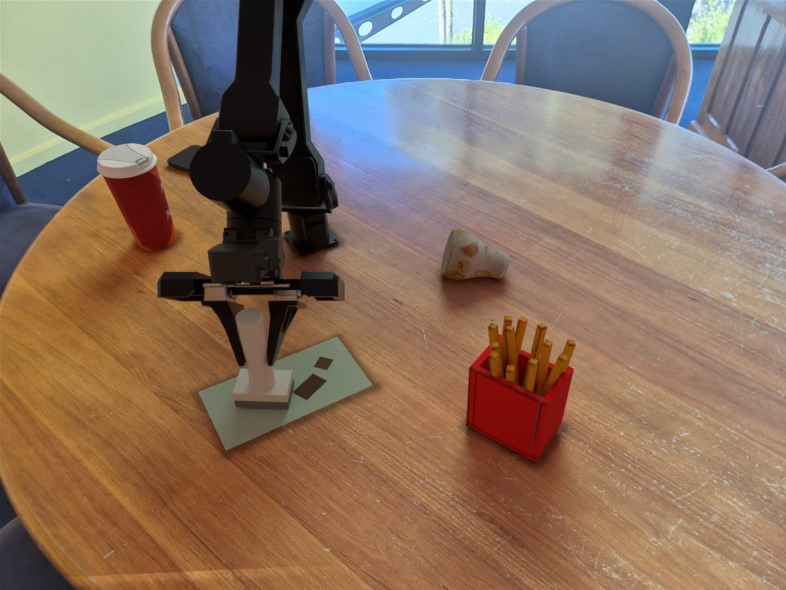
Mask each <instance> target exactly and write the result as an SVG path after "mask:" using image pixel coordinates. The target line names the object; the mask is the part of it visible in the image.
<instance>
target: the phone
mask: <svg viewBox="0 0 786 590" xmlns="http://www.w3.org/2000/svg"><path fill="white" fill-rule="evenodd" d="M202 146H203V145H199V144H191V145H189V146H187V147H185V148H184V149H182V150H180V151H179V152H177V153H175V154H174V155H172V156H170V157H168V159H167V160H166V163H167V165H168V166H170V167H172V168H175V169H178V170H182V171H184V172H187V173H189V165H190V163H191V162H192V159H193V157H194V155H195V154H196V152H197V151H198V150H199V149H200V148H201V147H202Z"/></svg>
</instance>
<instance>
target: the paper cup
mask: <svg viewBox="0 0 786 590" xmlns="http://www.w3.org/2000/svg"><path fill="white" fill-rule="evenodd" d="M96 162H97V165H96V171H97V172H98V174H100V175H101V176H102V177H103V179H104V182H105V184H106V185H107V187H108V189H109V192H110V193H111V195H112V197H113V199H114V201H115V203H116V205H117V207H118V209H119V212H120V213H121V215H122V217H123V219H124V221H125V222H126V225H127V226H128V228H129V230H130V232H131V235H132V236H133V238H134V240H135V242H136V243H137V245H138V246H139V248H140V249H142V250H144V251H145V250H146V251H151V252H152V251H160V250H163V249H166V248H168V247H170V246H172V245H173V244H175V242H176V240H177V238H178V237H177V232H176V228H175V224H174V221H173V217H172V214H171V209H170V207H169V203H168V200H167V196H166V193H165V189H164V186H163V182H162V179H161V175H160V172H159V169H158V165H157V163H158V157H157V156H156V154H155V153H153V152H152V150H151V149H150V148H149V147H148V146H147V145H144V144H140V143H134V142H133V143H132V142H131V143H123V144H118V145H117V144H116V145H114V146H111V147H109V148H107V149H105V150H102V152H100V154H99V155H98V157H97V160H96Z"/></svg>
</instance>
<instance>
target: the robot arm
mask: <svg viewBox="0 0 786 590" xmlns="http://www.w3.org/2000/svg"><path fill="white" fill-rule="evenodd" d="M313 1H314V0H238V14H237V16H238V17H237V35H236V51H235V52H236V53H235V71H234V79H233V81H232V82H231V83H230V84H229V85H228V86H227V88H226V89H225V90H224V92H223V93H222V94H221V96H220V101H219V109H218V116H217V117H216V118H215V120H214V122H213V125H212V126H211V130H210V133H209V135H208V137H207V139H206V141H205V144H203V145H201V146H202V147H201V148H200V149H199V150H198V151H197V152H196V154H195V155H194V157H193V159H192V162H191V163H190V165H189V172H188V174H189V179H190V181H191V184H192V186H193V187H194V189H195V190H196V191H197V192H198V193H199V194H200V195H201V196H202V197H204V198H205V199H207V200H209V201H210V202H212V203H213V204H215V205H216V206H218V207H220V208H222V209H224V210H225V211H226V227H223V232H222V241H221V243H218V244H216V245H214V246H212V247H211V248H209V249H207V251H206V252H207V259H208V266H209V274H210V275H208V274H205V273H202V272H199V271H163V272H162V273H161V275H160V276H159V278H158V280H157V285H156V287H157V295H156V296H157V299H158V298H159V299H163V300H168V301H175V302H183V303H184V302H187V303H188V302H189V303H191V302H193V303H194V302H200V304H201V306H202V307H205V308H208V309H209V308H210V309H211V310H212V311H213V312H214V314H215V315H216V316H217V318H218V319H219V321H220V324H221V325H222V327H223V329H224V331H225V334H226V336H227V339H228V341H229V344H230V347H231V349H232V353H233V354H234V358H235V360H236V363H237V365H238V367H240V368H242V367H245V366H246V362H245V358H244V353H243V349H242V344H241V340H240V335H239V331H238V326H237V322H236V315H237V314H238V312H240V311H241V310H243V309H245V304H242V303H239V302H237V299H238V297H239V296H273V297H274V298H275V300H267V303H268V311H269V324H268V334H267V335H268V348H267V359H268V366H274V363H275V361H277V358H278V355H279V353H280V350H281V348H282V346H283V345H282V344H283V342H284V339H285V337H286V334H287V332H288V329H290V325H291V324H292V322H293V320H294V318H295V316H296V314H297V313H298V311H299V310H305V309H307V303H305V298H306V297H308V298H314V300H316V301H317V302H344V301H346V295H345V294H346V293H345V292H346V291H345V288H346V287H345V286H346V285H345V280H343V278H342V277H341V276H340V275H338V274H337V273H336V272H334V271H301V273H300V278H284V277H285V276H284V272H283V268H284V267H285V266H286V254H285V253H286V252H285V247H284V237H285V238H286V240H287V241H288V243H289V244H290V245H291V246H292V248H293V249H294V250H295V252H296V253H297V254H298V255H299V256H304V255H308V254H311V253H314V252H318V251H320V250H323V249H326V248H329V247H333V246H336V245H337V244H339V243H340V241H339V240H340V239H339V238H338V237H337V236H336V235H335V234H334V233H333V231H332V230H331V229H330V227H329V219H328V215H329V214H330V215H331V214H332V213H333V210H335V209H336V208H338V207H339V198H338V197H339V196H338V193H337V190H336V184H335V182H334V180H333V179H332V178H331V176H330V175H329V174H328V173H326V167H325V166H326V165H325V159H324V158H323V156H322V155H321V153H320V152H319V150H318V148H317V147H316V146H315V144H314V143H313V141H312V134H311V122H310V121H311V119H310V107H309V95H308V94H309V93H308V81H307V69H306V68H307V65H306V52H305V41H304V39H305V38H304V29H303V27H304V26H303V23H304V20H305V19H306V16H307V14H308V12H309V11H310V9H311V6H312V4H313V3H314V2H313ZM265 165H266V168H265ZM283 213H286V215H287V220H288V224H289V230H286V231H284V232H283ZM283 235H284V236H283ZM305 296H306V297H305Z"/></svg>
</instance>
